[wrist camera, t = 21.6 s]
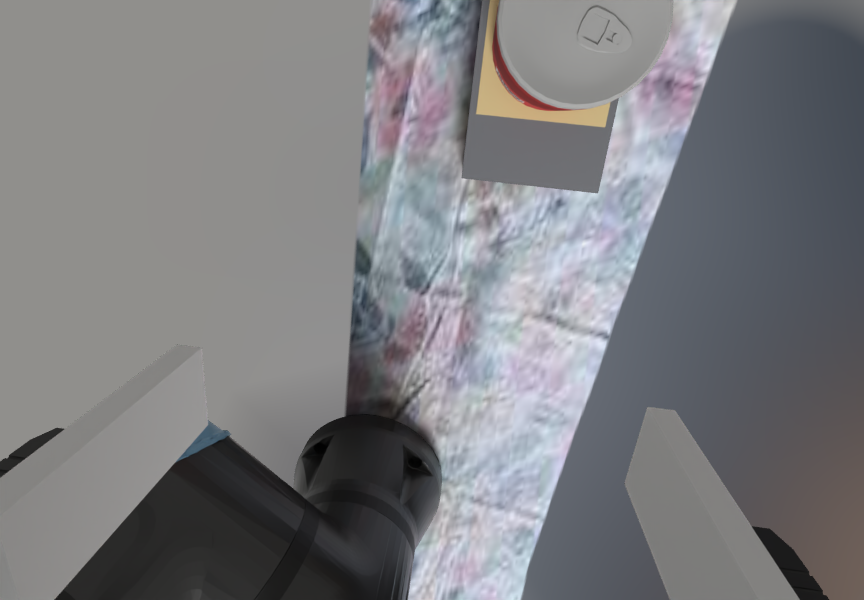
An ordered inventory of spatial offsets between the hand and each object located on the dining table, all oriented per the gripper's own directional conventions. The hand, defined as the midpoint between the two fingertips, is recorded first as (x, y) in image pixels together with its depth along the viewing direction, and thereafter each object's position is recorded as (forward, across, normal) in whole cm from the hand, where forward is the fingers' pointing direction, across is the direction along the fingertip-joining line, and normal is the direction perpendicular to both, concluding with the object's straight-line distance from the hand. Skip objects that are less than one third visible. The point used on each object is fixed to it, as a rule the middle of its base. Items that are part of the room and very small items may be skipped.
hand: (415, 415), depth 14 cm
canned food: (+25, -5, -13) cm, 28 cm away
